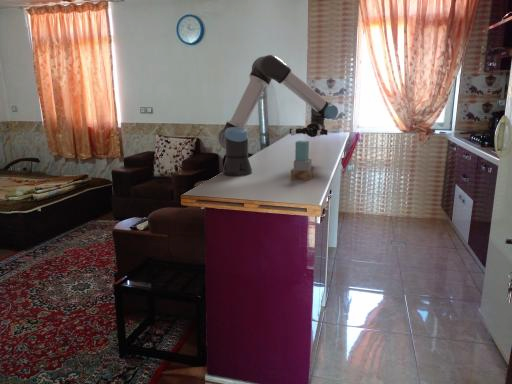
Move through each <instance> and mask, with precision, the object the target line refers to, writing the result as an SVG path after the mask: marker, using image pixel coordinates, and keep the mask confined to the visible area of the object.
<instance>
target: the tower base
mask: <svg viewBox="0 0 512 384" xmlns="http://www.w3.org/2000/svg"><path fill="white" fill-rule="evenodd" d="M313 177H314V168H313V167H311V169H310V171H295V170H294V167H293V168H292V169H291V170H290V180H303V181H310V180H311V179H312V178H313Z"/></svg>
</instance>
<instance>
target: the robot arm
mask: <svg viewBox="0 0 512 384" xmlns="http://www.w3.org/2000/svg"><path fill="white" fill-rule="evenodd" d="M248 77H249V83H248V84H247V87H246V88H245V90H244V92H243V94H242V96H241V99H240V100H239V102H238V105H237V107H236V109H235V110H234V113H233V115H232V117H231V119H230V120H227V121H226V123H225V125H224V126H223V128H222V129H221V130H219V133H218V135H217V137H218V139H217V140H218V143H219V144H220V146H221V148H223V149H224V150H225V161H224V164H223V168H222V175H225V176H230V177H232V176H233V177H241V176H248V175H251V174H253V168H252V166H251V162H250V160H249V159H250V158H249V132H248V129H246V126H247V124H248V122H249V119H250V117H251V115H252V114H253V112H254V109H255V108H256V105H257V103H258V101H259V100H260V97H261V96H262V94H263V92H264V89H265V88H266V87H269V85H270V83H271V82H272V80H274V81H275V82H276V83H278V84H279V85H280V84H281V85H283V86H285V87H286V88H287V89H288V90H290V91H291V92H292V93H293V94H294V95H296V96H297V97H298V98H299V99H301V100H302V101H303V102H304V103H305V104H307V105H308V106H309V107H310V123H308V124H307V125H306V127H295V128H289V134H290V135H291V136H295V135H296V134H297V135H298V134H302V135H307V136H308V137H310V138H315V137H320V136H328V129H326V125H325V119H327V120H334V119H335V118H337V116H338V114H339V108H338V107H337V106H336V105H334V104H331V103H329V102H328V101H327V100H325V98H323V97H322V96H321V95H320V94H319V93H318V92H316V91H315V90H314V89H313V88H312V87H310V85H308V84H307V83H306V82H305V81H304V80H302V78H300V77H298V75H297V74H295V72H293V70H292V68H291V67H290V65H288V64H287V63H286V62H284V61H283V60H282V59H280V58H279V57H278V56H276V55H273V54H267V55H264V56H260V57H257V58H256V59H255V60H254V62H253V63H252V65H251V71H250V74H249V75H248Z"/></svg>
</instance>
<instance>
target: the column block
mask: <svg viewBox="0 0 512 384" xmlns="http://www.w3.org/2000/svg"><path fill="white" fill-rule="evenodd" d="M309 146H310V141H309V140H296V141H295V151H294V153H295V154H294V155H295V157H294V158H295V159H294V161H307V160H308V159H309V157H310V156H309V154H310V152H309V151H310V149H309V148H310V147H309Z"/></svg>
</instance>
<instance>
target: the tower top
mask: <svg viewBox="0 0 512 384" xmlns="http://www.w3.org/2000/svg"><path fill="white" fill-rule="evenodd" d="M293 168H294V170H295V171H310V169H311V168H312V158H308V160H307V161H295V160H293Z"/></svg>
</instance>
